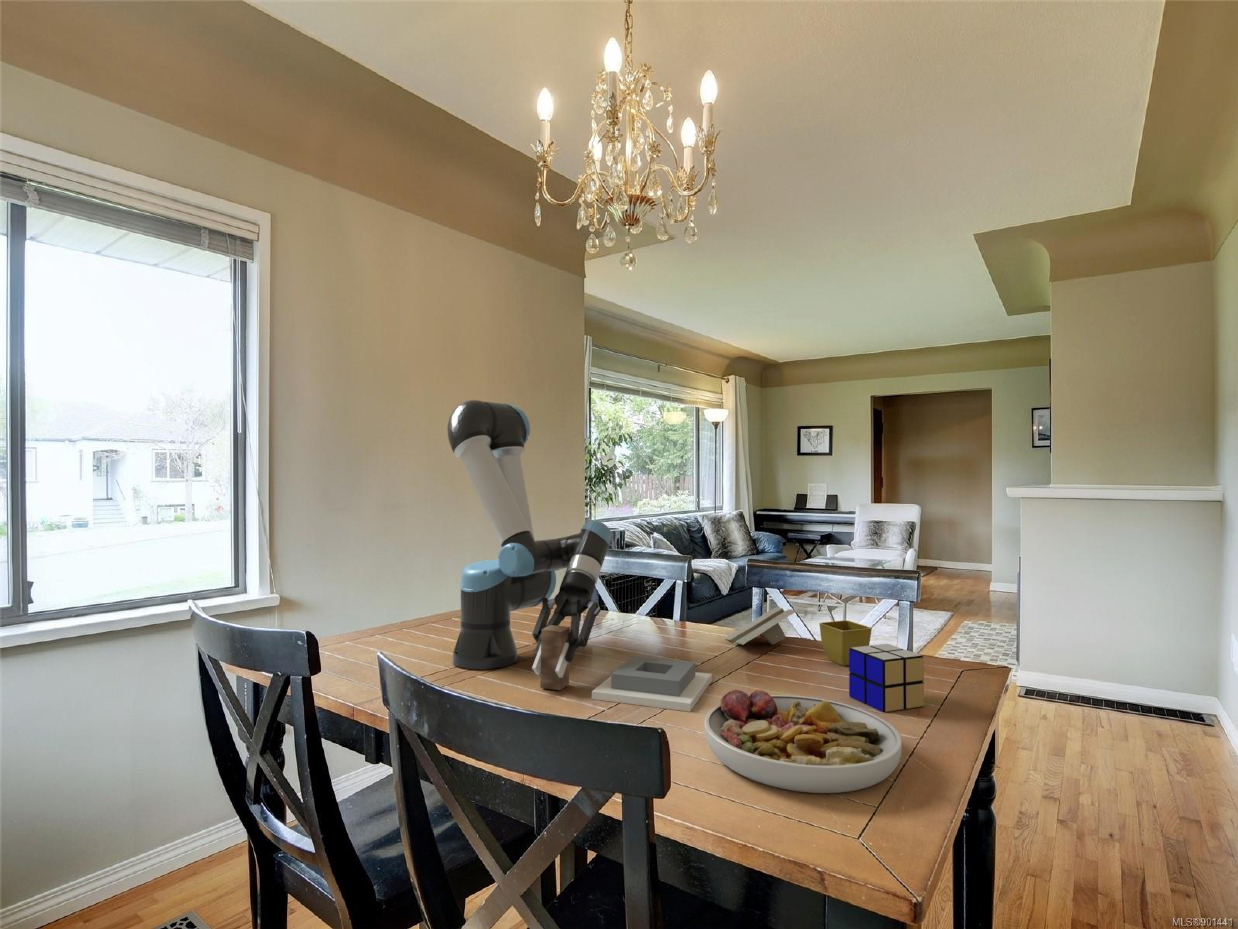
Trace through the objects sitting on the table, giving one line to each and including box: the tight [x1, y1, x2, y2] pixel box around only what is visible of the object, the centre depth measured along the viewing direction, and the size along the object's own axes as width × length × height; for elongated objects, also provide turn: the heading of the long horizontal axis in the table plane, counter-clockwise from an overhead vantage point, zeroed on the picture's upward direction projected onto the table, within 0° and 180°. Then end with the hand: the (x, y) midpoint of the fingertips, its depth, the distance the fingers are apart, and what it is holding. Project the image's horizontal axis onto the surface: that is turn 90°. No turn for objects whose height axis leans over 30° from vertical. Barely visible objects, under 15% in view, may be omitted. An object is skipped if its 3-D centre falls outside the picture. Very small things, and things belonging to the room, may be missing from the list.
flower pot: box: [819, 620, 872, 667], centre depth 158 cm, size 9×9×9 cm
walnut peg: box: [539, 625, 571, 691], centre depth 138 cm, size 4×4×12 cm
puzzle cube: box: [848, 643, 925, 714], centre depth 130 cm, size 10×10×10 cm
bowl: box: [704, 689, 903, 794], centre depth 105 cm, size 30×30×8 cm
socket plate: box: [591, 655, 713, 713], centre depth 137 cm, size 20×20×4 cm
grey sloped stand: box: [724, 606, 798, 646], centre depth 174 cm, size 19×10×17 cm
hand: (547, 672), depth 135 cm, fingers closed on walnut peg, 4 cm apart
